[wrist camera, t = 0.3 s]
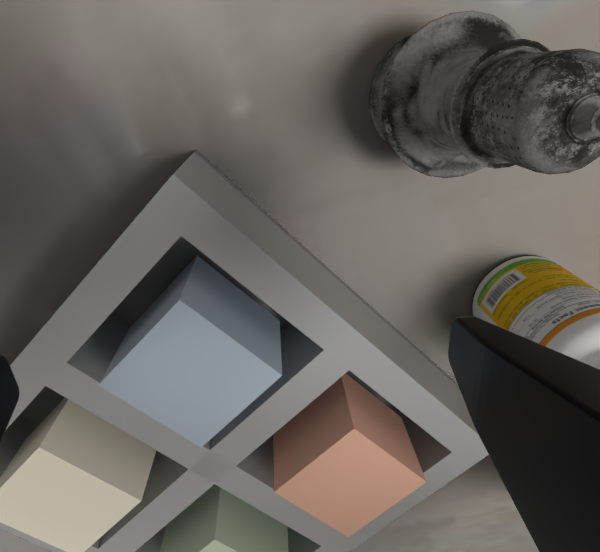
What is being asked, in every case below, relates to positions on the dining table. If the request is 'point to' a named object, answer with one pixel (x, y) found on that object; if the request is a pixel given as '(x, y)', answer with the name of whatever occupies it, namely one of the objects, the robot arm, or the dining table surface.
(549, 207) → the dining table surface
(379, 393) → the keypad
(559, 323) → the supplement bottle
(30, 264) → the dining table surface
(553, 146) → the grey chess piece
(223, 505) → the key sage
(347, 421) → the key terracotta
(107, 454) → the key cream
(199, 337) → the key slate
